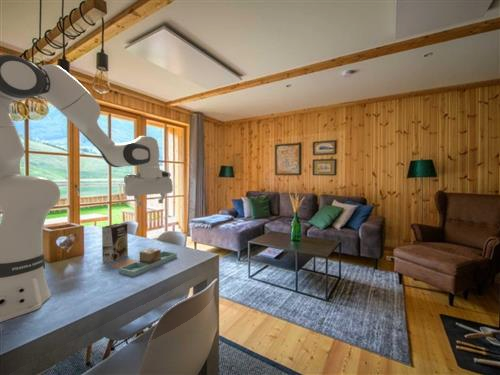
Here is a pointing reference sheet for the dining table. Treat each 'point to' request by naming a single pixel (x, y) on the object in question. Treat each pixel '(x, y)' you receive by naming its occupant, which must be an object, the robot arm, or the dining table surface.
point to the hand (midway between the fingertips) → (150, 204)
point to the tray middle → (155, 263)
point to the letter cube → (150, 255)
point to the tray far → (168, 256)
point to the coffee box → (114, 242)
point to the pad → (124, 263)
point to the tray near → (134, 269)
